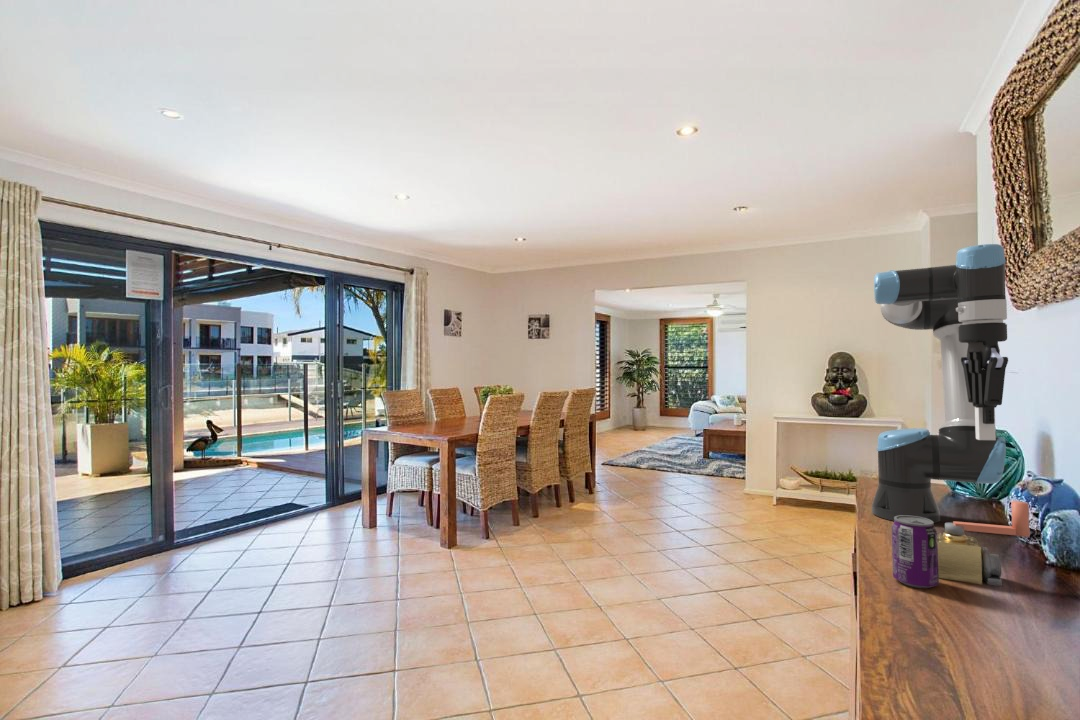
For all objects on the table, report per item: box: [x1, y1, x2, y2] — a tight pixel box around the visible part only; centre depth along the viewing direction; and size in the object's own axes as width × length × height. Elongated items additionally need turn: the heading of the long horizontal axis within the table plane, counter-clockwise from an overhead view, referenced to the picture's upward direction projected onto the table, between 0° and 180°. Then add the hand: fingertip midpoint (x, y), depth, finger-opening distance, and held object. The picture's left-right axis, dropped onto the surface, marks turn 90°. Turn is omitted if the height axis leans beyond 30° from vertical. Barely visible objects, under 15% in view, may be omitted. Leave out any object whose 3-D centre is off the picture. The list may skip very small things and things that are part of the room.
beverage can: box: [891, 515, 940, 589], centre depth 100 cm, size 7×7×12 cm
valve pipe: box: [937, 531, 1003, 587], centre depth 103 cm, size 6×13×8 cm, turn 58°
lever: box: [944, 500, 1031, 538], centre depth 101 cm, size 13×3×7 cm, turn 64°
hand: (985, 439), depth 106 cm, fingers closed
